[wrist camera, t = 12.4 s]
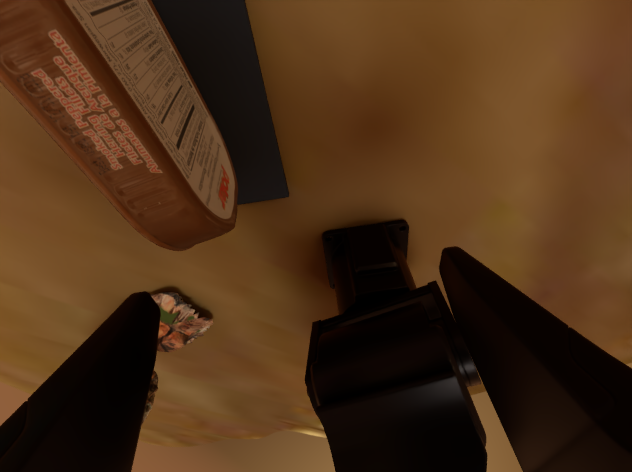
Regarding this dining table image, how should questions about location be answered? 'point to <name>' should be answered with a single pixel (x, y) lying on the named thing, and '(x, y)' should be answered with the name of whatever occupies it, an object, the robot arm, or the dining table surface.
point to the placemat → (230, 88)
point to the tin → (122, 112)
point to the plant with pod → (174, 331)
